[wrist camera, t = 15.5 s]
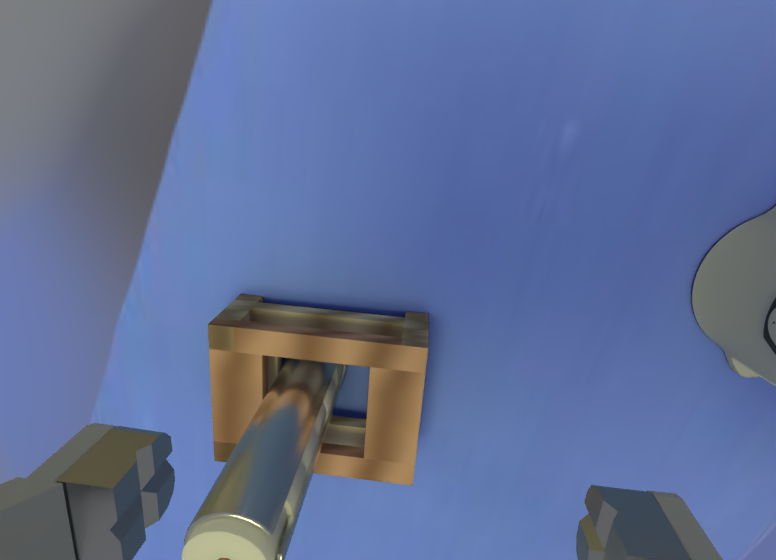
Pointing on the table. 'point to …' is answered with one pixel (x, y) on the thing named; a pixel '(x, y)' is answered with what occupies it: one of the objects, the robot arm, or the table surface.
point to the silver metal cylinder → (268, 469)
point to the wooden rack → (334, 345)
